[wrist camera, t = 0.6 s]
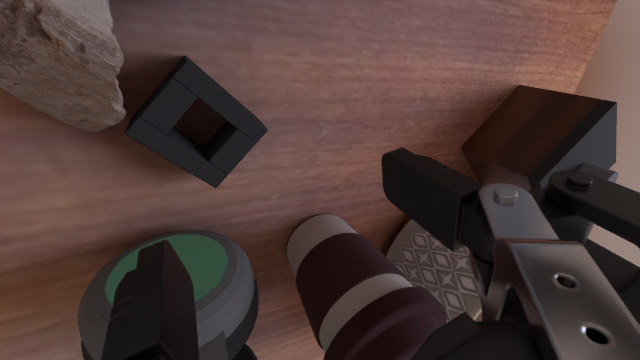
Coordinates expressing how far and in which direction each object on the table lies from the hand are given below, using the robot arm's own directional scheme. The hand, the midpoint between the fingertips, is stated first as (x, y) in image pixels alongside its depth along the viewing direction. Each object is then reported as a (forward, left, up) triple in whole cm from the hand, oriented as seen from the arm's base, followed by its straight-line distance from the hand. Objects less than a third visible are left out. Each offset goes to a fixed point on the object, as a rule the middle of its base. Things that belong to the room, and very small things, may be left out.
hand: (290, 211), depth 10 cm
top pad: (-1, -2, -14) cm, 14 cm away
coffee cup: (+16, -5, -14) cm, 21 cm away
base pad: (+28, +19, -6) cm, 34 cm away
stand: (+28, +19, -14) cm, 36 cm away
